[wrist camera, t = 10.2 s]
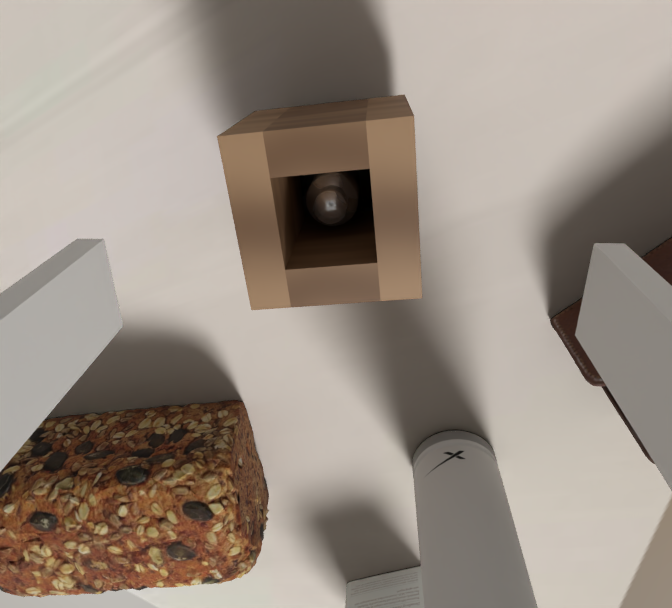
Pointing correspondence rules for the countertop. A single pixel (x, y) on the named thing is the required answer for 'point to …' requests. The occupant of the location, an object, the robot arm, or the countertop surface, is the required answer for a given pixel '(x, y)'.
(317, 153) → the collar
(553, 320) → the letter holder
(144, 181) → the countertop surface
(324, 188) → the hub
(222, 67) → the countertop surface
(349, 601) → the supplement box
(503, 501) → the travel mug
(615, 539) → the countertop surface
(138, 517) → the bread
